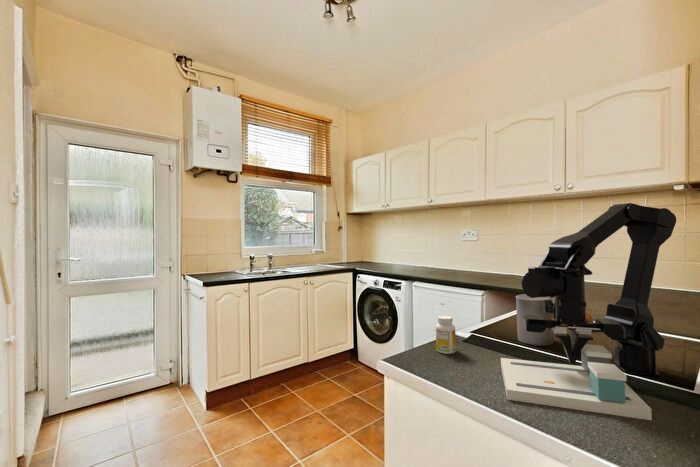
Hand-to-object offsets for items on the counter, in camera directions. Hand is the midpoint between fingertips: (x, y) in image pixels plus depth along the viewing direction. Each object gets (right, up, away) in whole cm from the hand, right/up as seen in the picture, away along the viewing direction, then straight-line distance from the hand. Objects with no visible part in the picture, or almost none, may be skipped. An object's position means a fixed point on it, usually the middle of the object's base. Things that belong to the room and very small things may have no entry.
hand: (571, 363), depth 74 cm
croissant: (+28, -4, +43) cm, 51 cm away
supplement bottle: (-23, -4, +20) cm, 31 cm away
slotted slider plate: (-5, -4, -5) cm, 8 cm away
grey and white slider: (+4, -1, -2) cm, 5 cm away
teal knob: (-2, -1, -12) cm, 12 cm away
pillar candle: (+7, -4, +26) cm, 27 cm away
